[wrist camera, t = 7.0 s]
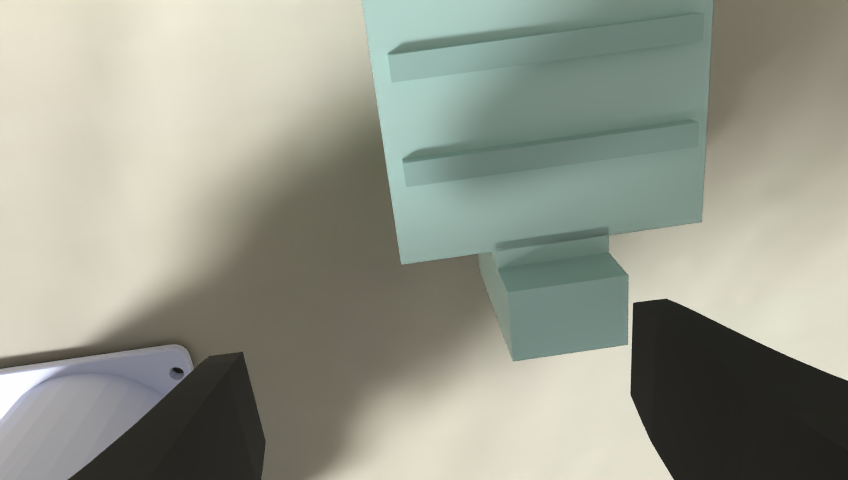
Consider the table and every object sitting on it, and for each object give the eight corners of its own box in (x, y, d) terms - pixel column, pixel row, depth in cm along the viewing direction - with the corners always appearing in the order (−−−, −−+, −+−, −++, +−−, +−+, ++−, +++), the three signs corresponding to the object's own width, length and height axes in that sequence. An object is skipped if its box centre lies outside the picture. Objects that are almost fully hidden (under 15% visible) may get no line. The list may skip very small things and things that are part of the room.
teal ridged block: (639, 247, 21) (723, 330, 16) (405, 281, 21) (416, 375, 16) (645, -187, 17) (765, -258, 12) (343, -148, 16) (329, -205, 11)
